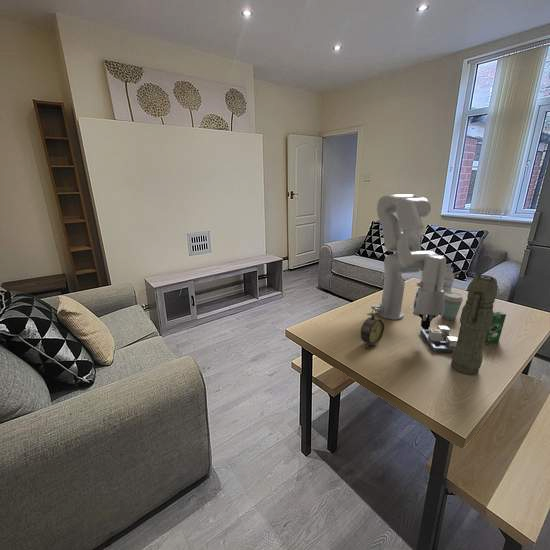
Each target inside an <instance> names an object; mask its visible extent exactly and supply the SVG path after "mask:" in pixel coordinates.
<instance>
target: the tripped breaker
mask: <svg viewBox="0 0 550 550" xmlns="http://www.w3.org/2000/svg"><path fill="white" fill-rule="evenodd" d="M428 330H429V338H430V339H431V341H441V336H442V332H441V331H440V330H439V329H437V328H429V329H428Z"/></svg>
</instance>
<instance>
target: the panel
mask: <svg viewBox="0 0 550 550" xmlns="http://www.w3.org/2000/svg"><path fill="white" fill-rule="evenodd" d="M436 329H439V330H440V331H441V332H442V336H441V341H431V339H430V338H429V330H430V329H428V330H424V329H423V328H420V333H419V334H420V336H421V337H422V339H423V340H424V342H425V343H426V345H427V346H428V349H430V351H431V352H432V354H447V355H452V354H453V350H454V349H455V348H456V344H457V339H458V336H453V335H452V334H451V332H450V331H451V329H450V328H449V327H448V326H447V325H440V324H439V325H437V328H436Z"/></svg>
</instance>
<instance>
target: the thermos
mask: <svg viewBox="0 0 550 550" xmlns="http://www.w3.org/2000/svg"><path fill="white" fill-rule="evenodd" d="M498 287H499V286H498V280H497V278H495V277H494V276H491V275H485V274H478V275H475V276H474V277H473V279H471V282H470V283H469V287H468V292H467V295H466V297H467V299H466V301H465V304H464V305H463V307H462V308H461V315H460V318H459V323H460V324H459V325H460V326H459V329H458V330H459V331H458V335H457V338H458V339H457V344H456V348H455V349H454V350H453V354H451V362H450V366H451V368H452V369H453V370H454V371H456V372H458V373H459V374H462V375H465V376H466V375H467V376H472V377H473V376H477V375H479V372H480V369H481V367H482V363H483V352H484V351H483V350H484V348H485V344H484V343H485V339H486V336H487V332H488V330H489V329H490V327H491V323H492V319H493V315H494V313H495V312H494V303H495V301H496V297H497V293H498Z"/></svg>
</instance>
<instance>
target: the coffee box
mask: <svg viewBox="0 0 550 550" xmlns="http://www.w3.org/2000/svg"><path fill="white" fill-rule="evenodd" d="M493 313H494V315H493V319H492V323H491V327H490V329H489V330H488V332H487V336H486V339H485V343H484V345H488V344H493V343H498V342H499V341H500V340H501V339H500V338H501V335H502V331H503V327H504V324H505V320H506V317H507V314H506V313H505V312H502V311H495V312H493Z"/></svg>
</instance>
